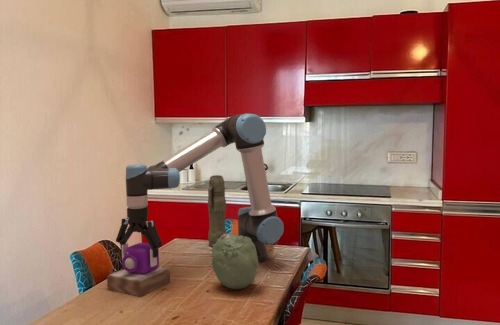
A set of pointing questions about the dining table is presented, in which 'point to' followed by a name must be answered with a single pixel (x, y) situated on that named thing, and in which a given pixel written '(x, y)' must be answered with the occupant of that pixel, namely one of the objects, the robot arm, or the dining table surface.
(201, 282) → the dining table surface
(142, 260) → the toy camera
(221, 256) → the cabbage
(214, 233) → the olive green segmented column
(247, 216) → the robot arm
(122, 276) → the stand
